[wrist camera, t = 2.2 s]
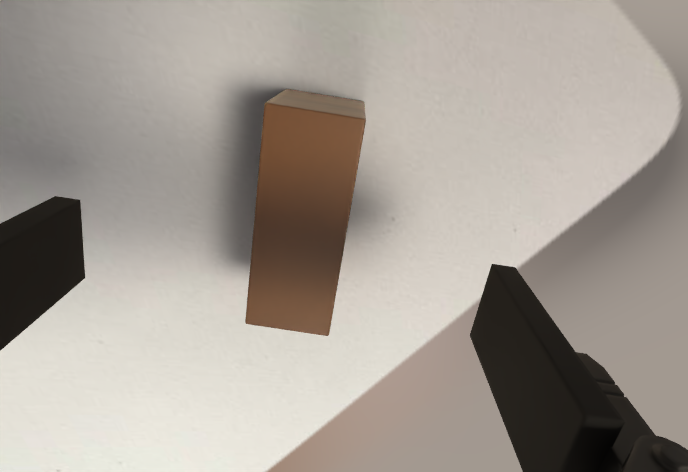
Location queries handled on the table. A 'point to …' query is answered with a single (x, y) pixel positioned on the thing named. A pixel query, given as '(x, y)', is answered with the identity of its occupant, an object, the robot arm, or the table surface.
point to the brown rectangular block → (302, 208)
